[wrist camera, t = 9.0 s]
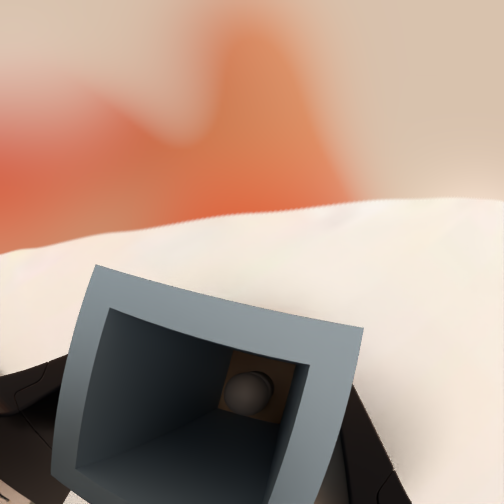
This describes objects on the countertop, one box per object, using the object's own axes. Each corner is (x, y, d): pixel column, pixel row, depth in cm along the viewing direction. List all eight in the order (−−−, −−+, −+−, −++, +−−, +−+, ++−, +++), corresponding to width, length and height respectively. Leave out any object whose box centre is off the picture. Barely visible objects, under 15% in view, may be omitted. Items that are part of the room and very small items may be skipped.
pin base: (273, 480, 13) (264, 520, 8) (158, 395, 16) (111, 401, 11) (364, 365, 15) (393, 364, 10) (242, 284, 18) (223, 253, 13)
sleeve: (288, 437, 13) (278, 574, 2) (203, 415, 14) (50, 474, 3) (311, 354, 15) (364, 327, 4) (224, 335, 16) (95, 264, 5)
